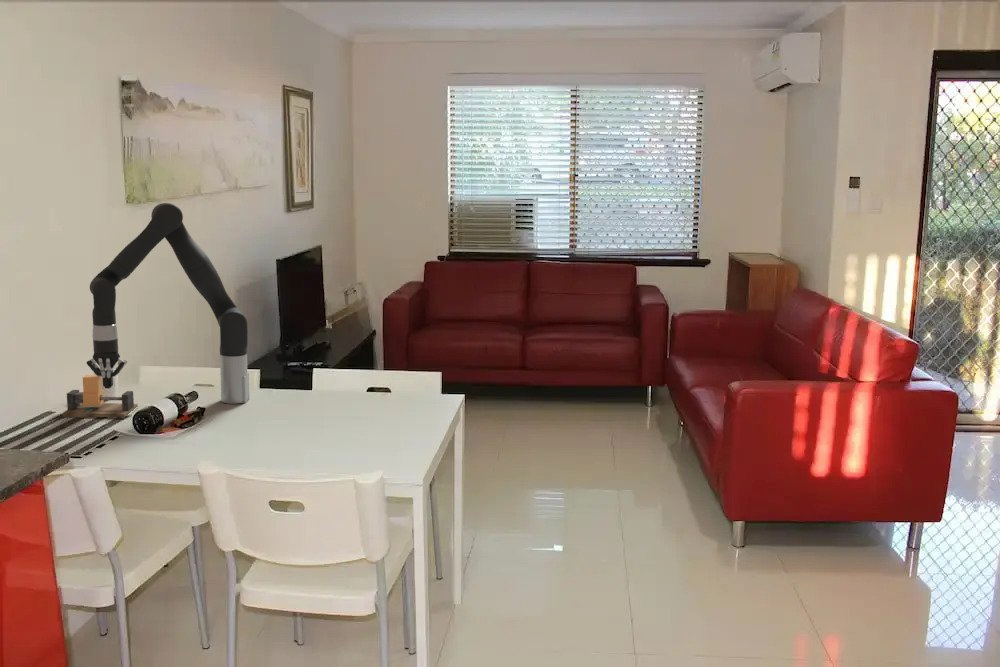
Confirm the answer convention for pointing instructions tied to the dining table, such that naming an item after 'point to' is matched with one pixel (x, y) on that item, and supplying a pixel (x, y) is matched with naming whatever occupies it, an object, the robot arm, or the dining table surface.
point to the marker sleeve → (92, 390)
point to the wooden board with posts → (103, 410)
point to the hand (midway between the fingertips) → (108, 387)
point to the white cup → (113, 390)
